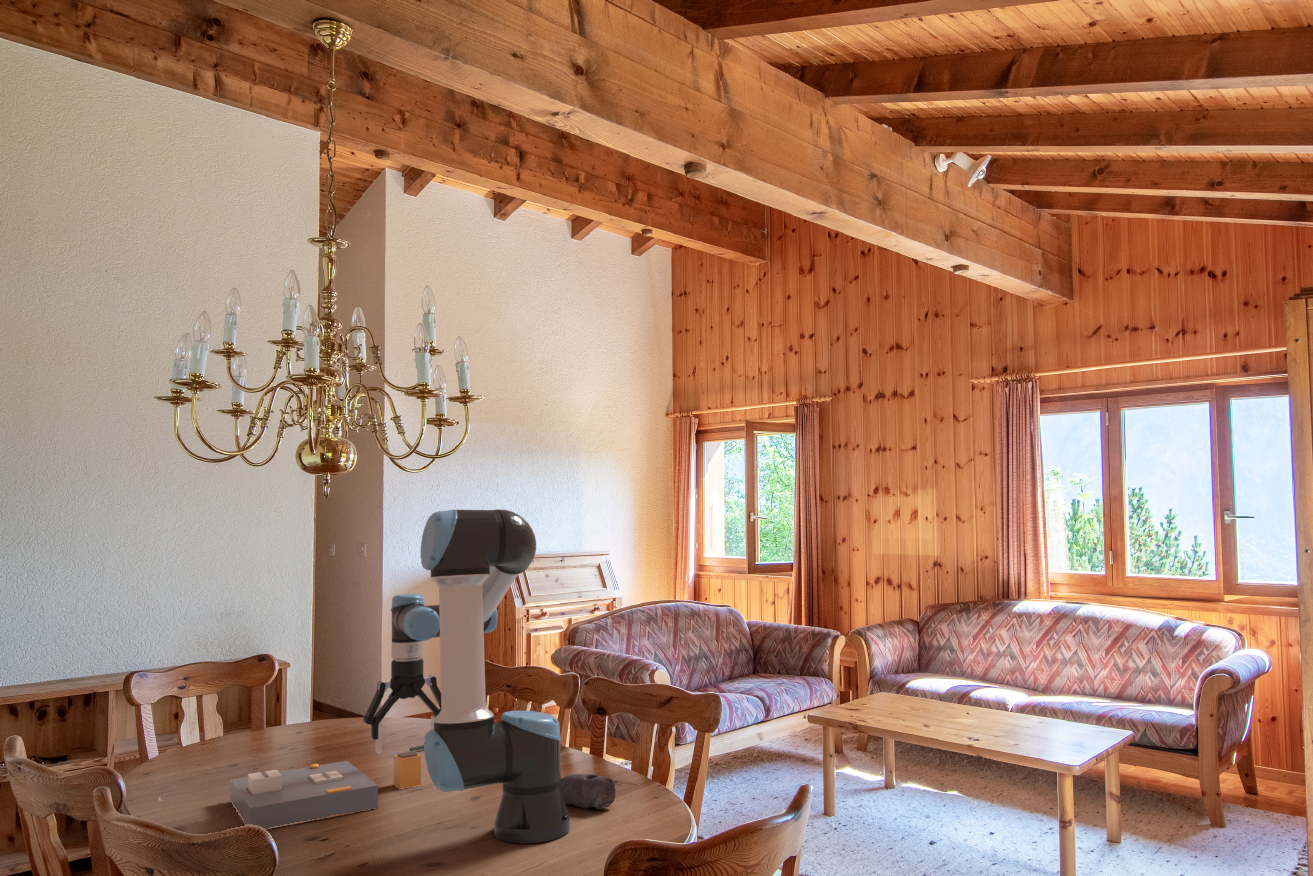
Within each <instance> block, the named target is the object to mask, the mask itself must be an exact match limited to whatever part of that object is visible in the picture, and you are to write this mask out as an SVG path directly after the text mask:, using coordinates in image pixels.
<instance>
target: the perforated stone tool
mask: <svg viewBox="0 0 1313 876" xmlns="http://www.w3.org/2000/svg"><path fill="white" fill-rule="evenodd" d="M561 792H562V795H563V798H564V801H565V804H567V805H573V807H576V806H577V808H581V807H582V808H581V809H585V808H588V809H590V808H595V809H596V810H603V809H604V808H609V807H610V806H611V805H612V804H613V803H614V802H615V799H616V782H615V780H613V778H611V777H608V776H603V775H598V774H597V775H595V774H591V773H589V774H588V773H576V774H568V775H565V776H563V777H561Z"/></svg>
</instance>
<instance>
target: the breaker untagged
mask: <svg viewBox="0 0 1313 876" xmlns="http://www.w3.org/2000/svg"><path fill="white" fill-rule="evenodd" d="M247 777H248V792H249V793H250V794H251V795H255V794H261V793H267V792H273V791H279V790H282V775H281V774H280V771H279V770H278V769H273V770H271V769H270V770H266V771H264V770H263V771H260V772H259V771H257V772H252V773H247Z"/></svg>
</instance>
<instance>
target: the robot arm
mask: <svg viewBox="0 0 1313 876" xmlns="http://www.w3.org/2000/svg"><path fill="white" fill-rule="evenodd" d="M421 536H422V537H421V542H420V559H421V566H422V568H423V569H425V570H427V571H430V579H431V580H432V581H433V582H434V583H435V584H436V585H437V587H438V603H439V604H432V605H431V604H429V605H425V599H424V596H423V594H421V593H400V594H395V595H394V596H393V597H392V600H391V609H390V612H391V647H390V648H391V650H390V652H391V653H390V657H391V659H392V660H391V664H390V665H391V666H390V669H391V670H390V673H391V675H390V676H391V677H390V681H386V682H385V681H381V680H380V681H377V686H376V692H375V694H374V696H373V698H372V700H371V702H370V705H369V706H368V708H367V711H366V712H365V715H364V718H363V720H362V722H363V723H364V724H367V725H370V726H371V729H370V730H371V731H370V733H371V735H370V737H371V739H372V740H373V741H375V742H374V743H375V744H374V745H375V747H374V750H375V751H374V752H375V753H376V754H377V755H382V754H383V750H382V749H383V747H382V746H383V744H382V743H383V725H382V724H381V722H382V721H383V719H384V718H385V717H386V715H387V714H388V712H390V710H391V709H392V707H393V706H394V705H395V703H396V702H398V700H399V699H401V700H404V699H408V698H410V699H413V698H414V699H415V698H416V697H418V698H419V699H420V700H421V701H422V702H423V703H424V705H426V707H427V708H428V709H429V710H430V711H431V712H432V713H433V714H434V715H431V716H430V730H429V731H427V732H426V733H425V735H424V741H423V745H424V749H423V751H424V758H425V762H426V767H427V771H428V774H429V777H430V780H431V782H432V783H433V786H434V787H435V788H436V789H437V790H439V791H440V792H445V793H447V792H455V791H459V792H463V791H465V790H469V789H475V788H481V787H487V786H493V785H498V784H502V793H501V797H500V802H499V804H498V808H497V812H496V815H495V817H494V822H493V835H494V837H496V838H497V839H498V840H500V841H503V842H507V843H511V844H539V843H545V842H548V841H549V842H550V841H553V840H554V841H555V840H557V839H559V838H562V837H563V836H565V835H567V834H568V833H569V831H570V829H571V819H570V814H569V810H568V808H567V807H568V806H567V805H566V804H567V803H565V801H564V798H563V795H562V792H561V778H562V777H561V776H562V775H561V774H562V772H561V740H562V737H561V732H560V730H561V729H560V728H561V727H560V722H559V720H558V719H557V717H555V715H552V714H549V713H545V712H539V711H534V710H533V711H532V710H509V711H505V712H503V713H502V715H501V717H500V720H501V721H495V714H494V713H493V712H492V710H490V709H489V708H488V707H487V701H486V700H487V699H486V698H487V697H486V671H485V670H486V668H485V663H486V662H485V636H484V635H485V633H486V634H488V633H492V632H494V631H495V630H496V628H497V623H498V609H497V608H498V606H499V605H500V603H501V601H502V600H503V599H504V597H505V595H506V594H507V592H508V590H509V589H510V588H511V586H512V585H513V583H514V582H515V580H516V578H517V576H519V575H520V574H523V573H524V572H526V571H527V570H528V569H529V567H530V566H531V564H532V562H533V560H534V559H535V556H536V553H537V539H536V536H535V533H534V530H533V528H532V527H531V525H530V524H529V522H528V521H527V520H526V519H525V518H523V516H521V515H519V514H517V513H515V512H513V511H511V510H508V509H448V510H441V511H439V510H438V511H435V512H434V513H432V514H430V516H428V519H427V520H426V523H425V525H424V527H423V532H422V535H421ZM433 638H439V649H440V650H439V652H440V655H439V656H440V657H439V658H440V662H439V663H440V688H439V686H438V684H437V683H438V682H437V677H436V676H434V675H432V674H430V675H428V676H427V677H424V659H423V658H422V657H424V641H429V640H430V639H433ZM425 685H427V686H428V687H429V688H430V691H431V692H432V694H433V696H434V697H433V698H434V699H435V700H436V702H437V704H438V706H439V707H437V706H436V705H435V703H434V702H433V701H432V700H431V699H430V698H429V696H428V695H426V693H425V692H424V690H422V689H423V687H424V686H425ZM389 688H390V689H391V693H390V694H389V695H388V697H387V699H386V700H385V702H384V703H383V704H382V705H381V702H382V700H383V698H384V696H385V693H386V692H387V691H388V689H389ZM380 705H381V706H380ZM379 706H380V708H379ZM378 708H379V709H378ZM377 710H378V711H377Z"/></svg>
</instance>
